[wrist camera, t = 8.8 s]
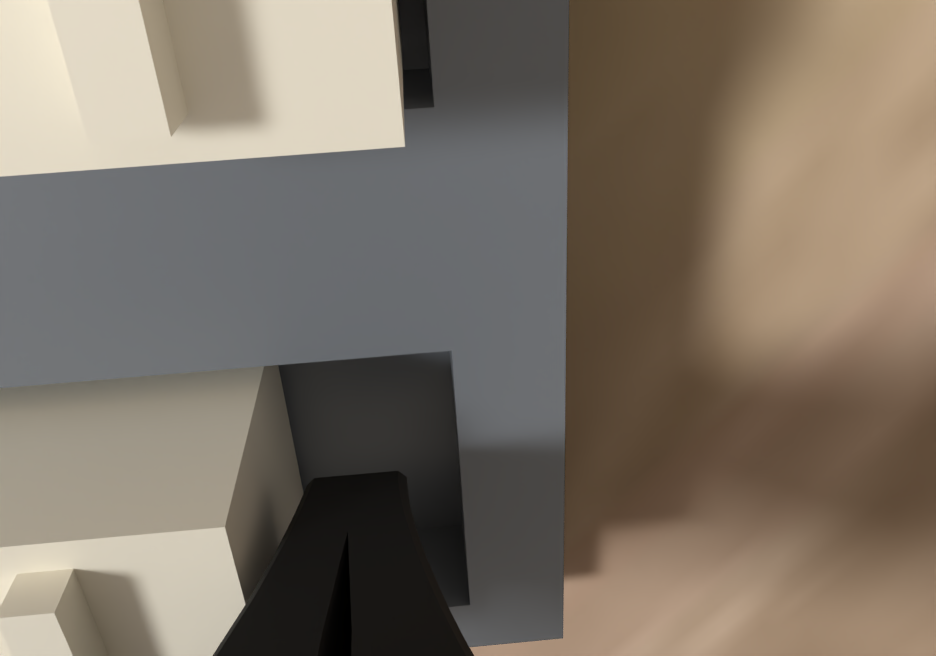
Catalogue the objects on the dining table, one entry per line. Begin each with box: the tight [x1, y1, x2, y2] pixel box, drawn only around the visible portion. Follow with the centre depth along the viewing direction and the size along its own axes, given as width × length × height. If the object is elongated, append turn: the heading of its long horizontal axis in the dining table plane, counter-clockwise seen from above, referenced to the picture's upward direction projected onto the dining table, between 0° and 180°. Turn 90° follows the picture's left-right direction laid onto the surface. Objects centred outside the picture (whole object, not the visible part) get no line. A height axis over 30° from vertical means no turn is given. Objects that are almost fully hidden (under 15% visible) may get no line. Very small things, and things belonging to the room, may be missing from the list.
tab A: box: [0, 365, 304, 656], centre depth 11 cm, size 4×4×5 cm
